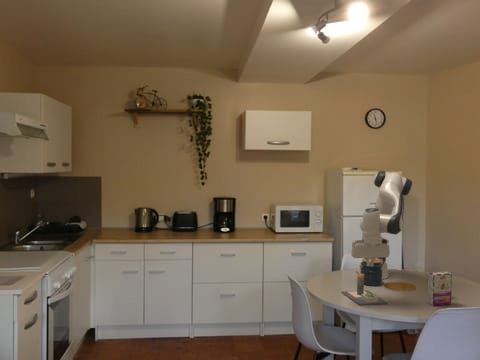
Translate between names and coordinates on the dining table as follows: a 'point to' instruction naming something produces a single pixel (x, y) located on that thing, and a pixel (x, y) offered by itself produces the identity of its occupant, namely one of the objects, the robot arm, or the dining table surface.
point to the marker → (360, 284)
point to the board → (364, 298)
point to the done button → (369, 294)
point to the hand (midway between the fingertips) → (370, 266)
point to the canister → (372, 272)
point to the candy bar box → (439, 288)
